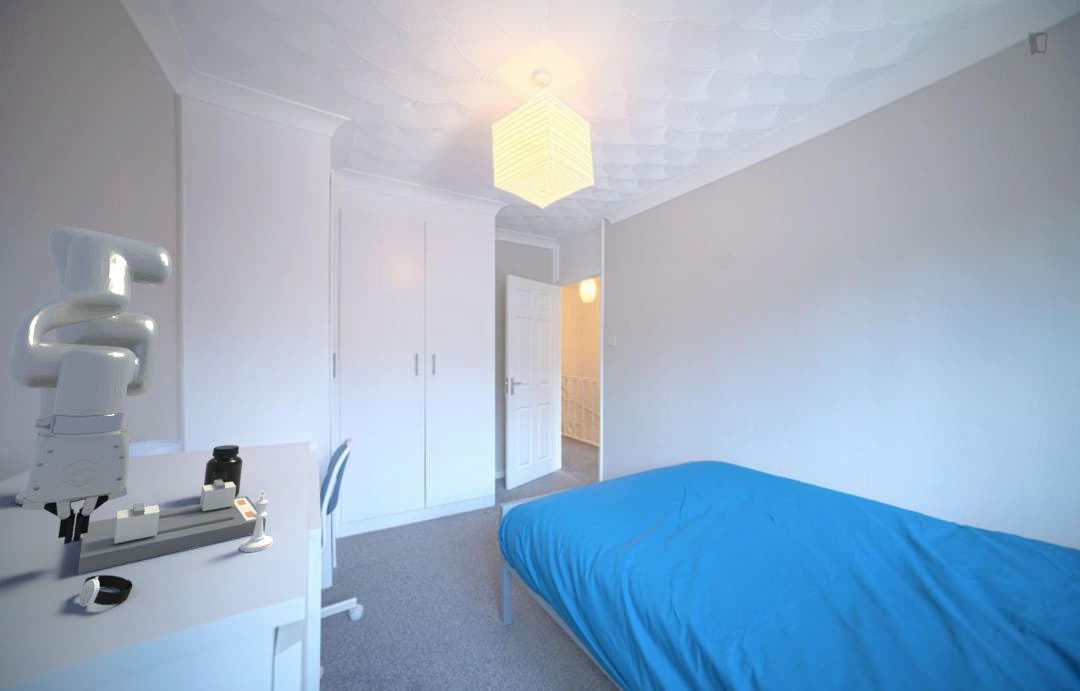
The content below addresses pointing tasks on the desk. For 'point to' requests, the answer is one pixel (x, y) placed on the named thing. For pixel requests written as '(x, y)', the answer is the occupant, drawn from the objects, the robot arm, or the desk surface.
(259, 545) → the chess piece
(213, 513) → the switch panel
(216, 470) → the supplement bottle
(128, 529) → the switch
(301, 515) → the desk surface
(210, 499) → the switch
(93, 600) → the watch
